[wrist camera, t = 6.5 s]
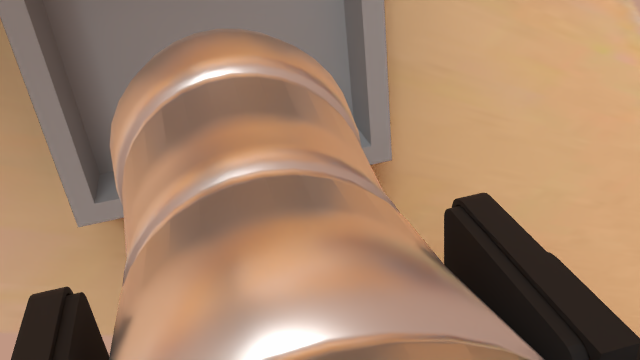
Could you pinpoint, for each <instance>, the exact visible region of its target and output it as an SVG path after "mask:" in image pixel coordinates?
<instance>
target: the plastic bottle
mask: <svg viewBox="0 0 640 360" xmlns="http://www.w3.org/2000/svg"><path fill="white" fill-rule="evenodd" d="M110 151H111V158H112V164H113V171H114V177H115V184H116V190H117V192H118V195H119V198H120V201H121V203H122V206H123V214H124V229H125V244H126V259H127V260H126V265H125V271H124V278H123V288H122V291H121V294H120V299H119V305H118V311H117V316H116V322H115V328H114V334H113V340H112V345H111V351H110V357H109V360H545V359H544V358H542V357H541V356H540V355H539V354H538V353H537V352H536V351H535V350H534V349H533V348H532V347H531V346H530V345H529V344H528V343H527V342H525V341H524V340H523V339H522V338H521V337H520V336H519V335H518V334H517V333H516V332H515V331H514V330H513V329H512V328H511V327H510V326H508V325H507V324H506V323H505V322H504V321H503V320H502V319H501V318H500V317H499V316H498V315H497V314H496V313H495V312H494V311H493V310H491V309H490V308H489V307H488V306H487V305H486V304H485V303H484V302H483V301H482V300H481V299H480V298H479V297H478V296H477V295H476V294H474V293H473V292H472V291H471V290H470V289H469V288H468V287H467V286H466V285H465V284H464V283H463V282H462V281H461V280H460V279H459V278H457V277H456V276H455V275H454V274H453V273H452V272H451V271H450V270H449V269H448V268H447V267H446V266H445V265H444V264H443V263H442V262H441V261H440V259H439V258H438V257H437V256H436V254H435V253H434V252H433V251H432V250H431V248H430V247H429V246H428V245H427V244H426V242H425V241H424V240H423V239H422V237H421V236H420V235H419V234H418V233H417V231H416V230H415V229H414V228H413V227H412V225H411V224H410V223H409V222H408V221H407V219H406V218H405V217H404V216H402V215H401V214H400V212H399V211H398V209H397V208H396V206H395V205H394V204H393V202H392V201H391V200H390V199H389V198H388V196H387V195H386V194H385V193H384V191H383V189H382V187H381V185H380V183H379V181H378V179H377V177H376V175H375V173H374V171H373V169H372V168H371V166H370V164H369V162H368V160H367V158H366V156H365V154H364V152H363V150H362V147H361V142H360V137H359V132H358V129H357V127H356V124H355V121H354V119H353V116H352V114H351V111H350V109H349V107H348V104H347V102H346V99H345V97H344V94H343V92H342V91H341V89H340V88H339V86H338V85H337V83H336V82H335V80H334V79H333V77H332V76H331V74H330V73H329V72H328V71H327V70H325V69H324V68H323V67H322V66H321V65H320V64H319V63H318V62H317V61H316V60H315V59H314V58H312V57H311V56H309V55H308V54H306V53H305V52H303V51H301V50H300V49H298V48H297V47H295V46H293V45H291V44H289V43H286V42H284V41H282V40H279V39H276V38H274V37H271V36H269V35H266V34H263V33H261V32H255V31H249V30H244V29H214V30H209V31H204V32H199V33H194V34H192V35H190V36H187V37H185V38H182V39H180V40H178V41H175V42H173V43H172V44H170V45H169V46H167V47H166V48H164V49H163V50H161V51H160V52H158V53H157V54H155V55H154V56H153V57H152V59H151V60H150V61H149V62H148V63H147V64H146V65H145V66H144V67H143V68H142V69H141V70H140V71H139V72H138V73H137V75H136V76H135V77H134V78H133V79H132V80H131V82H130V83H129V85H128V87H127V88H126V90H125V92H124V93H123V95H122V97H121V98H120V100H119V102H118V105H117V108H116V111H115V114H114V117H113V120H112V123H111V136H110Z"/></svg>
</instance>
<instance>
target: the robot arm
mask: <svg viewBox="0 0 640 360" xmlns="http://www.w3.org/2000/svg"><path fill="white" fill-rule="evenodd" d="M444 265H445V266H446V267H447V268H448V269H449V270H450V271H451V272H452V273H453V274H454V275H455V276H456V277H457V278H459V279H460V280H461V281H462V282H463V283H464V284H465V285H466V286H467V287H468V288H469V289H470V290H471V291H472V292H473V293H474V294H476V295H477V296H478V297H479V298H480V299H481V300H482V301H483V302H484V303H485V304H486V305H487V306H488V307H489V308H490V309H491V310H493V311H494V312H495V313H496V314H497V315H498V316H499V317H500V318H501V319H502V320H503V321H504V322H505V323H506V324H507V325H508V326H510V327H511V328H512V329H513V330H514V331H515V332H516V333H517V334H518V335H519V336H520V337H521V338H522V339H523V340H524V341H525V342H527V343H528V344H529V345H530V346H531V347H532V348H533V349H534V350H535V351H536V352H537V353H538V354H539V355H540V356H541V357H542V358H544V359H545V360H640V338H639V337H638V336H637V335H636V334H635V333H634V332H633V331H632V330H631V329H630V328H629V327H628V326H627V325H625V324H624V323H623V322H622V321H621V320H620V319H619V318H618V317H617V316H616V315H615V314H614V313H613V312H612V311H611V310H610V309H609V308H608V307H607V306H606V305H605V304H604V303H603V302H602V301H601V300H600V299H599V298H598V297H597V296H596V295H595V294H594V293H593V292H592V291H591V290H590V289H589V288H588V287H587V286H586V285H584V284H583V283H582V282H581V281H580V280H579V279H578V278H577V277H576V276H575V275H574V274H573V273H572V272H571V271H570V270H569V269H568V268H567V267H566V266H565V265H564V264H563V263H562V262H561V261H560V260H559V259H558V258H557V257H555V256H554V255H553V254H551V253H549V252H546V251H545V250H544V249H543V248H542V247H541V246H540V245H539V244H538V243H537V242H536V241H535V240H534V239H533V238H532V237H531V236H530V235H529V234H528V233H527V232H526V231H525V230H524V229H523V228H522V227H521V226H520V225H519V224H518V223H517V222H516V221H515V220H514V219H513V218H512V217H511V216H510V215H509V214H508V213H507V212H506V211H505V210H504V209H503V208H502V207H501V206H500V205H499V204H498V203H497V202H496V201H495V200H494V199H493V198H492V197H491V196H490V195H488V194H487V193H480V194H476V195H471V196H467V197H462V198H458V199H455V200H454V202H453V204H452V208H449V209H447V210H446V211H445V215H444ZM11 360H109V355H108V352H107V350H106V347H105V344H104V342H103V340H102V337H101V334H100V331H99V329H98V326H97V324H96V321H95V318H94V316H93V313H92V311H91V308H90V305H89V303H88V300H87V298H86V296H85V294H84V293H82V292H81V293H76V294H73V292H72V290H71V289H70V288H69V287H63V288H59V289H54V290H50V291H46V292H41V293H37V294H33V295H31V296H30V298H29V300H28V303H27V307H26V310H25V313H24V317H23V320H22V324H21V327H20V330H19V334H18V337H17V340H16V344H15V347H14V351H13V354H12V358H11Z"/></svg>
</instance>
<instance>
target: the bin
mask: <svg viewBox="0 0 640 360" xmlns="http://www.w3.org/2000/svg"><path fill="white" fill-rule="evenodd" d="M0 18H1V21H2V23H3V26H4V29H5V31H6V34H7V37H8V39H9V42H10V45H11V48H12V50H13V53H14V56H15V58H16V61H17V64H18V66H19V69H20V72H21V74H22V77H23V80H24V83H25V85H26V88H27V91H28V93H29V96H30V99H31V101H32V104H33V107H34V109H35V112H36V115H37V118H38V120H39V123H40V126H41V128H42V131H43V134H44V136H45V139H46V142H47V144H48V147H49V150H50V153H51V155H52V158H53V161H54V163H55V166H56V169H57V171H58V174H59V177H60V179H61V182H62V185H63V188H64V190H65V193H66V196H67V198H68V201H69V204H70V206H71V209H72V212H73V214H74V217H75V220H76V223H77V225H78V227H82V226H87V225H91V224H96V223H101V222H105V221H110V220H115V219H119V218H124V214H123V206H122V203H121V201H120V198H119V195H118V192H117V190H116V184H115V177H114V171H113V164H112V158H111V151H110V136H111V123H112V120H113V117H114V114H115V111H116V108H117V105H118V102H119V100H120V98H121V97H122V95H123V93H124V92H125V90H126V88H127V87H128V85H129V83H130V82H131V80H132V79H133V78H134V77H135V76H136V75H137V73H138V72H139V71H140V70H141V69H142V68H143V67H144V66H145V65H146V64H147V63H148V62H149V61H150V60H151V59H152V57H153V56H154V55H155V54H157V53H158V52H160V51H161V50H163V49H164V48H166V47H167V46H169V45H170V44H172V43H173V42H175V41H178V40H180V39H182V38H185V37H187V36H190V35H192V34H194V33H199V32H204V31H209V30H214V29H244V30H249V31H255V32H261V33H263V34H266V35H269V36H271V37H274V38H276V39H279V40H282V41H284V42H286V43H289V44H291V45H293V46H295V47H297V48H298V49H300V50H301V51H303V52H305V53H306V54H308V55H309V56H311V57H312V58H314V59H315V60H316V61H317V62H318V63H319V64H320V65H321V66H322V67H323V68H324V69H325V70H327V71H328V72H329V73H330V74H331V76H332V77H333V79H334V80H335V82H336V83H337V85H338V86H339V88H340V89H341V91H342V92H343V94H344V97H345V99H346V102H347V104H348V107H349V109H350V111H351V114H352V116H353V119H354V121H355V124H356V127H357V129H358V132H359V137H360V142H361V147H362V150H363V152H364V154H365V156H366V158H367V160H368V162H369V164H370V165H372V164H376V163H381V162H386V161H390V160H392V152H391V132H390V111H389V91H388V70H387V50H386V29H385V9H384V0H0Z"/></svg>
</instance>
